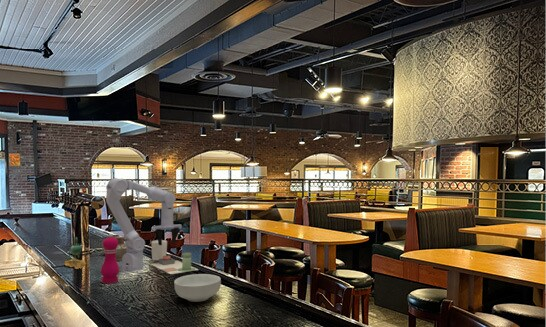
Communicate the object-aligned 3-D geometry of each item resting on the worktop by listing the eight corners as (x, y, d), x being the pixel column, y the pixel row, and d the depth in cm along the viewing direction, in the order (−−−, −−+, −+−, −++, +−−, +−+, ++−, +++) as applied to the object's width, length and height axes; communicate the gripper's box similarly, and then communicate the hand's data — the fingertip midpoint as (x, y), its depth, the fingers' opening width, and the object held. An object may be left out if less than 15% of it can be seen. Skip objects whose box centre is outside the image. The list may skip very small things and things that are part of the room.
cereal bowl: (200, 289, 163) (200, 271, 163) (230, 297, 152) (230, 278, 152) (164, 299, 149) (164, 279, 150) (194, 309, 139) (194, 288, 139)
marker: (188, 270, 187) (188, 254, 187) (180, 270, 188) (180, 253, 188) (192, 268, 191) (192, 252, 191) (184, 268, 192) (185, 252, 192)
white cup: (157, 263, 206) (157, 243, 206) (147, 261, 211) (148, 241, 211) (170, 260, 213) (170, 241, 213) (160, 258, 217) (160, 239, 217)
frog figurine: (82, 260, 211) (83, 232, 210) (89, 271, 196) (91, 241, 195) (61, 262, 205) (62, 233, 204) (67, 274, 190) (69, 243, 189)
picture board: (199, 272, 189) (199, 265, 189) (170, 276, 181) (170, 269, 181) (176, 262, 209) (176, 256, 209) (149, 266, 200) (150, 259, 200)
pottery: (110, 263, 206) (111, 239, 206) (99, 254, 226) (100, 232, 226) (133, 260, 212) (134, 237, 212) (121, 252, 233) (121, 231, 233)
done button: (171, 260, 201) (171, 256, 201) (164, 261, 199) (164, 257, 199) (168, 259, 204) (168, 255, 204) (161, 260, 202) (161, 256, 202)
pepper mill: (112, 284, 168) (113, 235, 168) (96, 283, 169) (97, 234, 169) (122, 279, 175) (123, 232, 175) (107, 278, 176) (108, 232, 176)
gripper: (156, 218, 194) (155, 247, 194) (184, 216, 203) (184, 243, 203) (150, 216, 200) (150, 244, 200) (178, 215, 209) (177, 241, 209)
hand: (166, 244), depth 202 cm, fingers open, 6 cm apart
